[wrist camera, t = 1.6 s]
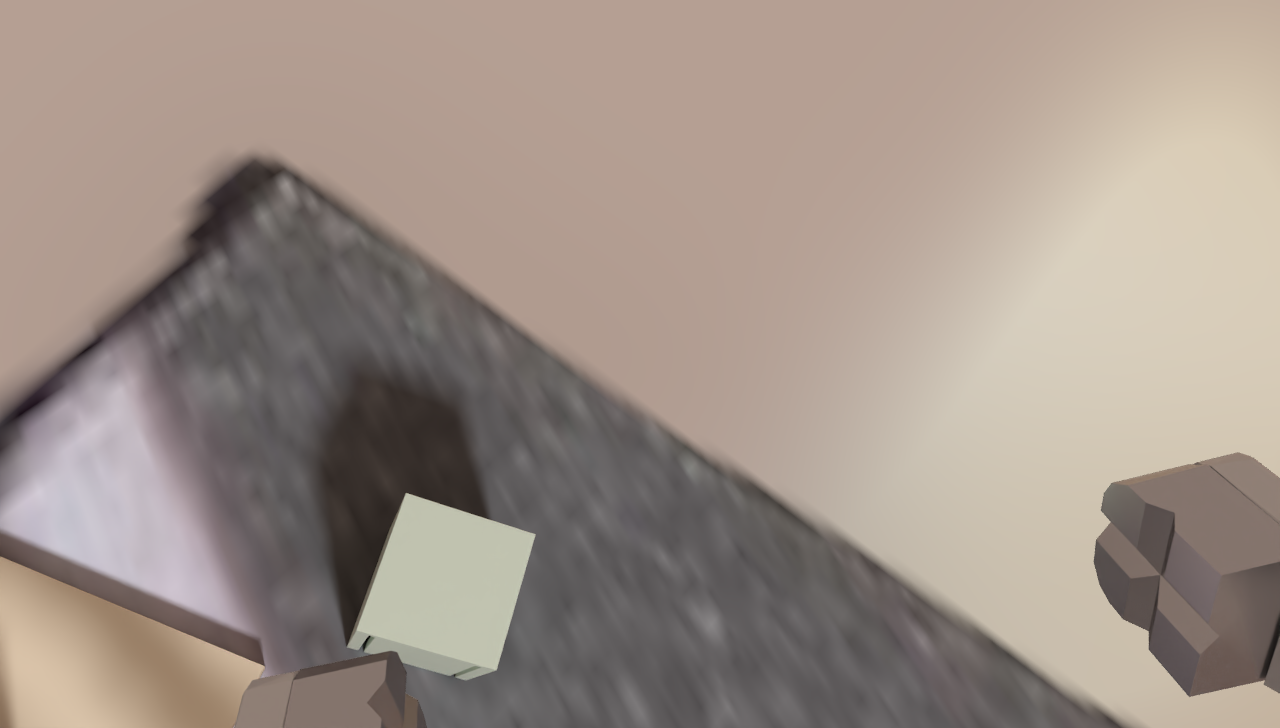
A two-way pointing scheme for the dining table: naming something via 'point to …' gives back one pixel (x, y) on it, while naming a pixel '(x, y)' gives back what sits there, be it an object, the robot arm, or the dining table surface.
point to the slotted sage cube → (443, 589)
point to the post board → (106, 663)
